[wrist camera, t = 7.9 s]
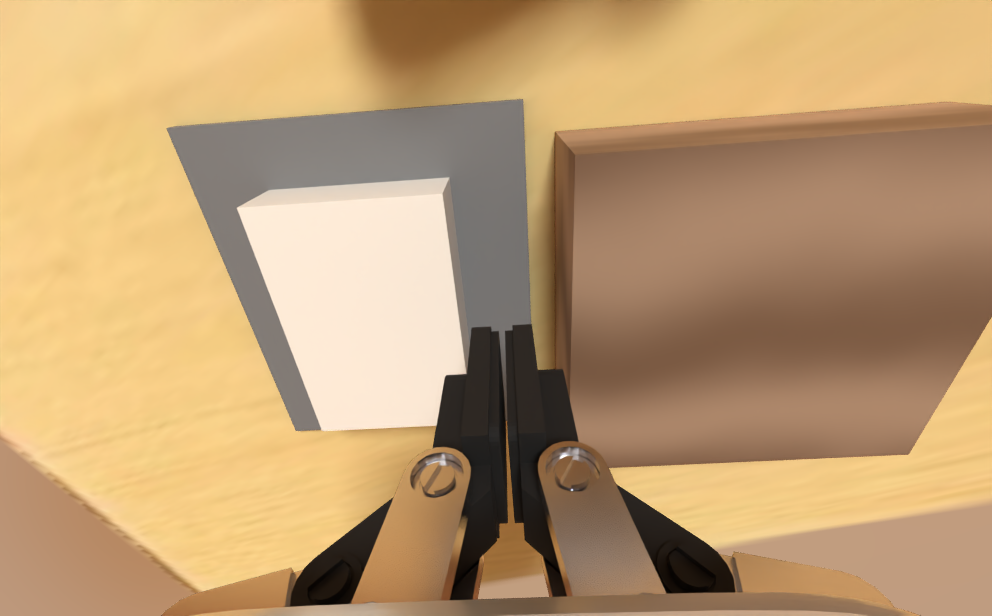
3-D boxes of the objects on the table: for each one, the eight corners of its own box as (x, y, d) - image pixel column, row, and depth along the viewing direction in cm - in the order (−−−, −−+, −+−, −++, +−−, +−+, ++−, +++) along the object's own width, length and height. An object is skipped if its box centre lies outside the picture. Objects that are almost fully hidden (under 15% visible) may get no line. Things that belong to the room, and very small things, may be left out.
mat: (174, 126, 13) (166, 128, 13) (522, 99, 13) (523, 99, 13) (299, 424, 20) (296, 431, 19) (533, 412, 19) (534, 419, 19)
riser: (555, 131, 13) (575, 154, 10) (948, 101, 13) (1113, 115, 9) (555, 395, 19) (568, 469, 15) (831, 381, 18) (908, 454, 15)
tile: (442, 193, 12) (449, 177, 14) (237, 207, 12) (269, 190, 14) (472, 423, 16) (475, 389, 18) (321, 431, 17) (338, 396, 18)
